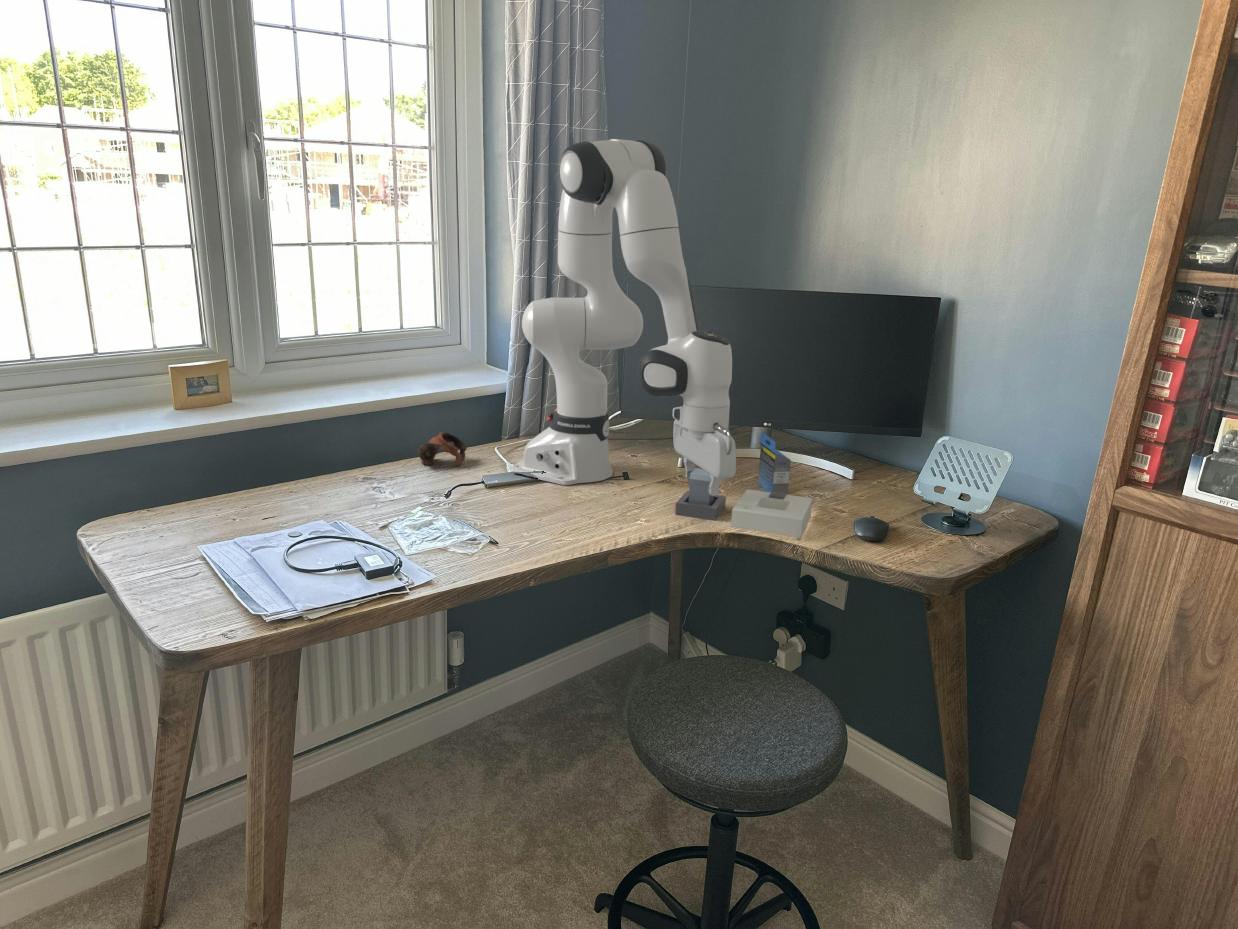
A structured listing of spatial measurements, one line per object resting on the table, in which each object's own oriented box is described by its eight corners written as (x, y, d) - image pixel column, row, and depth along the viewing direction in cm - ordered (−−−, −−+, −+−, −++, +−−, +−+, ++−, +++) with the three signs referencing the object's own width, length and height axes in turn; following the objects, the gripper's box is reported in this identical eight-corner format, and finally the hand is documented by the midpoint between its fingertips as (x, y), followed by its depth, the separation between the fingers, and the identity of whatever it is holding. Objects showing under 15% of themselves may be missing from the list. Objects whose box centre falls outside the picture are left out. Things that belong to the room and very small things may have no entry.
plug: (688, 512, 163) (690, 473, 160) (693, 506, 166) (695, 468, 164) (707, 515, 161) (710, 476, 159) (712, 509, 165) (715, 470, 163)
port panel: (730, 529, 156) (732, 507, 155) (745, 508, 168) (747, 486, 167) (800, 540, 152) (802, 517, 151) (810, 517, 164) (812, 495, 162)
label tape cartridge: (788, 497, 175) (793, 441, 171) (770, 498, 174) (775, 441, 170) (773, 484, 183) (777, 430, 180) (756, 485, 182) (760, 430, 179)
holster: (675, 517, 162) (675, 502, 161) (686, 504, 169) (687, 490, 168) (715, 523, 159) (716, 508, 158) (725, 510, 166) (726, 496, 166)
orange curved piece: (435, 457, 198) (451, 429, 196) (461, 481, 195) (478, 452, 193) (401, 457, 187) (418, 427, 185) (428, 482, 184) (446, 451, 182)
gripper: (747, 430, 150) (741, 502, 154) (697, 405, 168) (693, 470, 172) (716, 432, 148) (711, 505, 152) (668, 407, 166) (665, 473, 170)
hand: (701, 486), depth 162 cm, fingers open, 8 cm apart
